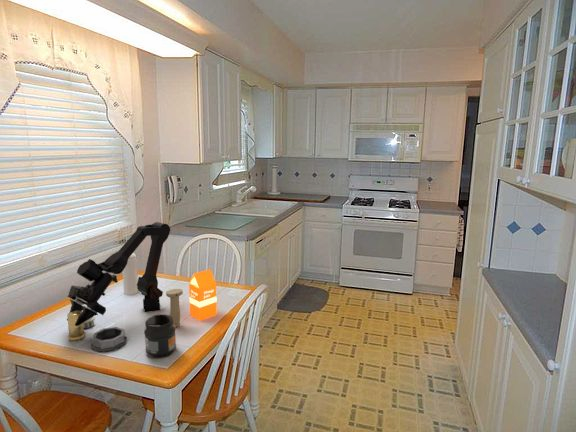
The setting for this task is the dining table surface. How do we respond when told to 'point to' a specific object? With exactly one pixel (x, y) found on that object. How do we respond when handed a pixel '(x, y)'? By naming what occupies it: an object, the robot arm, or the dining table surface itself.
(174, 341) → the supplement container
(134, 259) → the spray bottle
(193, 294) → the orange juice
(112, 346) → the collar fitting
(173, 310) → the handle
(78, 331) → the gold bulb-shaped piece
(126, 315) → the dining table surface
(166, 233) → the robot arm
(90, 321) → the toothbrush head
